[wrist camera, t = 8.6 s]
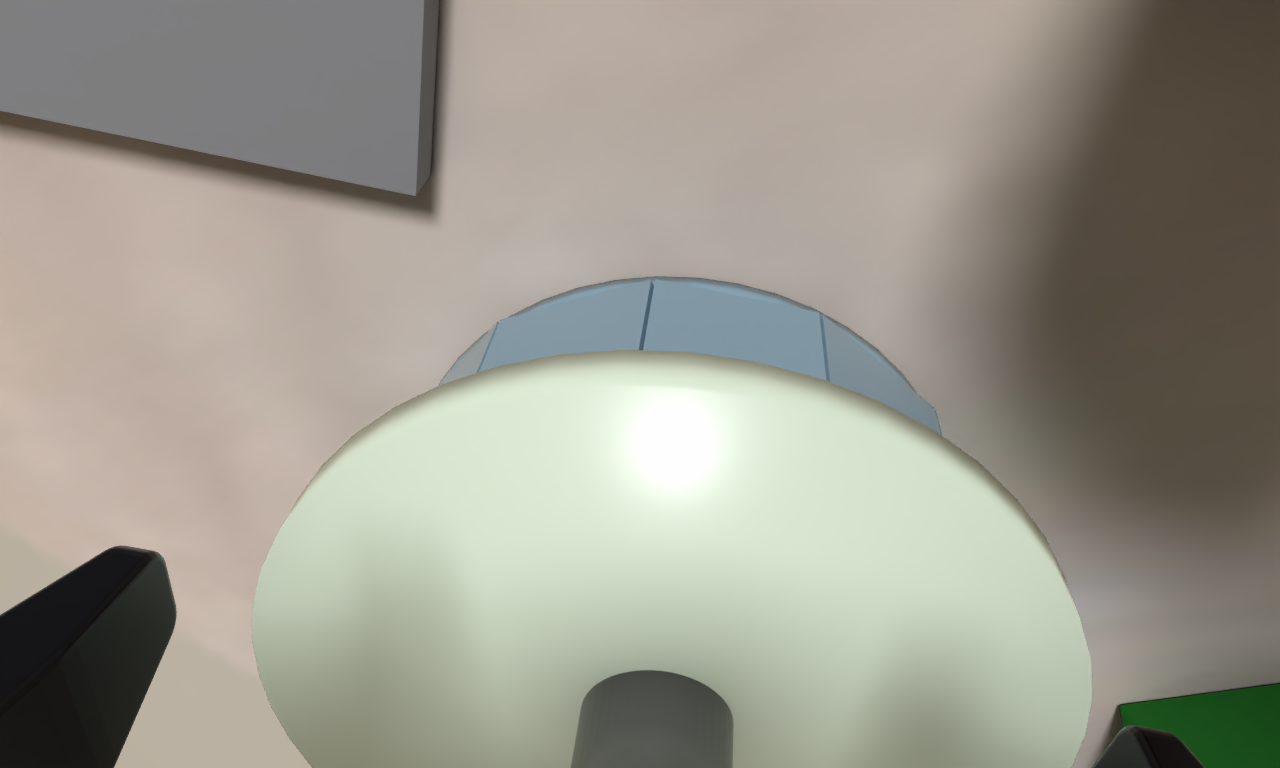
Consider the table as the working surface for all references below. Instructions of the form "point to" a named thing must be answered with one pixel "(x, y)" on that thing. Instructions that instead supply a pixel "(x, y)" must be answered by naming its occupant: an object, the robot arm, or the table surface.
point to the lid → (665, 583)
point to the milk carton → (1218, 725)
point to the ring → (696, 334)
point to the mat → (237, 79)
